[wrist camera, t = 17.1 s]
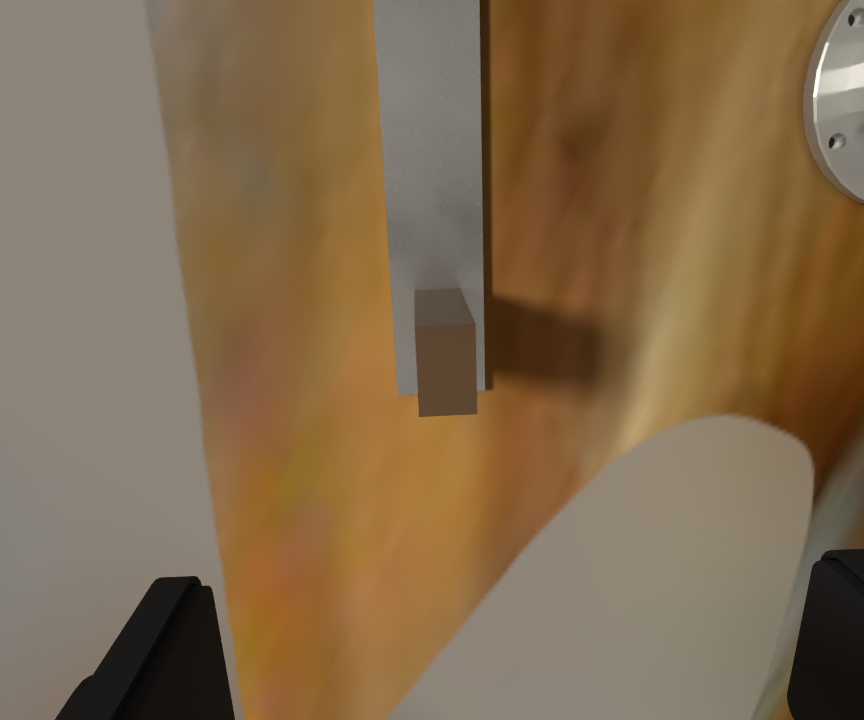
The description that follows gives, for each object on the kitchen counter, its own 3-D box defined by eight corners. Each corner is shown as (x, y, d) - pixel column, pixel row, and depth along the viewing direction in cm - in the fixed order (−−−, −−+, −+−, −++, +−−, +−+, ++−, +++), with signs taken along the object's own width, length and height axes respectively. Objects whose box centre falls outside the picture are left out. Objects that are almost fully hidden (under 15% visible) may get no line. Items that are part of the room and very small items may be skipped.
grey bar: (476, -78, 27) (504, -192, 19) (483, 386, 34) (506, 454, 26) (368, -74, 27) (349, -187, 19) (398, 390, 34) (393, 460, 26)
